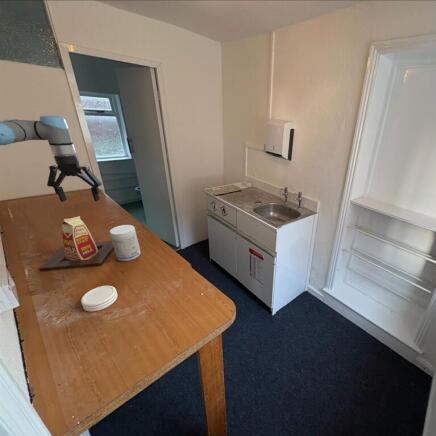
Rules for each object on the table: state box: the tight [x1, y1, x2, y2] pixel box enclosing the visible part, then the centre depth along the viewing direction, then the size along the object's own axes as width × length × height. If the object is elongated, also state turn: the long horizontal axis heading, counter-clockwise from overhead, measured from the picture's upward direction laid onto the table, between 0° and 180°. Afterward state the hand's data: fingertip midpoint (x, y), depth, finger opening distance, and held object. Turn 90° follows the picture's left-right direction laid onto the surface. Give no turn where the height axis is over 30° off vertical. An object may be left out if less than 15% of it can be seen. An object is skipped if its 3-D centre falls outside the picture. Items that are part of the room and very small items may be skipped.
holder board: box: [38, 240, 115, 272], centre depth 109 cm, size 22×20×2 cm
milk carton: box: [61, 215, 99, 261], centre depth 105 cm, size 9×9×20 cm
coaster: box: [80, 285, 118, 312], centre depth 84 cm, size 10×10×4 cm
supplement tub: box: [109, 224, 141, 262], centre depth 108 cm, size 10×10×15 cm
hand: (80, 200), depth 109 cm, fingers open, 13 cm apart
